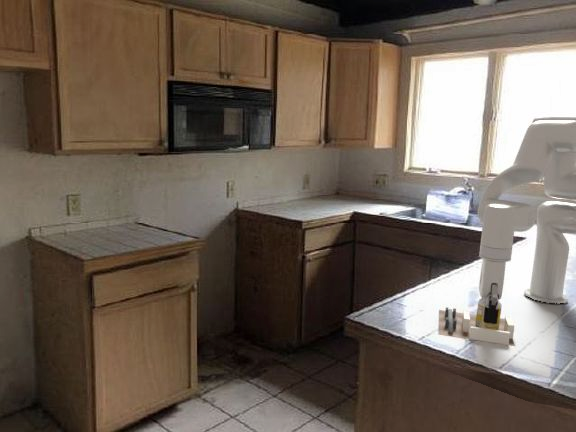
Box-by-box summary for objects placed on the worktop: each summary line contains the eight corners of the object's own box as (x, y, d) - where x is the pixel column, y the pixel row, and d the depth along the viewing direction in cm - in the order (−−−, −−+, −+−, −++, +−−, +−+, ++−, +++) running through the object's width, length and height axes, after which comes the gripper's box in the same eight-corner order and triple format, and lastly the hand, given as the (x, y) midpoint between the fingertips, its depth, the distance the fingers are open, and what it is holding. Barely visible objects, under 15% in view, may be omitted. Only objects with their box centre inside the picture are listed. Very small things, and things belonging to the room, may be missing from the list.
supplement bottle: (471, 329, 131) (475, 292, 130) (480, 324, 135) (484, 287, 134) (493, 336, 127) (498, 297, 126) (501, 330, 132) (506, 293, 130)
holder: (461, 323, 135) (463, 310, 135) (509, 330, 132) (511, 317, 131) (463, 338, 125) (464, 324, 125) (515, 345, 122) (516, 332, 121)
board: (438, 312, 145) (439, 309, 145) (505, 321, 140) (506, 319, 140) (438, 337, 127) (438, 334, 127) (514, 349, 122) (515, 345, 122)
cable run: (445, 312, 143) (445, 305, 143) (454, 313, 142) (455, 306, 142) (445, 333, 128) (445, 324, 128) (456, 334, 127) (457, 326, 127)
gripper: (477, 243, 137) (471, 303, 140) (482, 259, 121) (475, 326, 124) (507, 246, 135) (500, 307, 138) (516, 262, 119) (507, 330, 122)
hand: (488, 316), depth 131 cm, fingers open, 9 cm apart
